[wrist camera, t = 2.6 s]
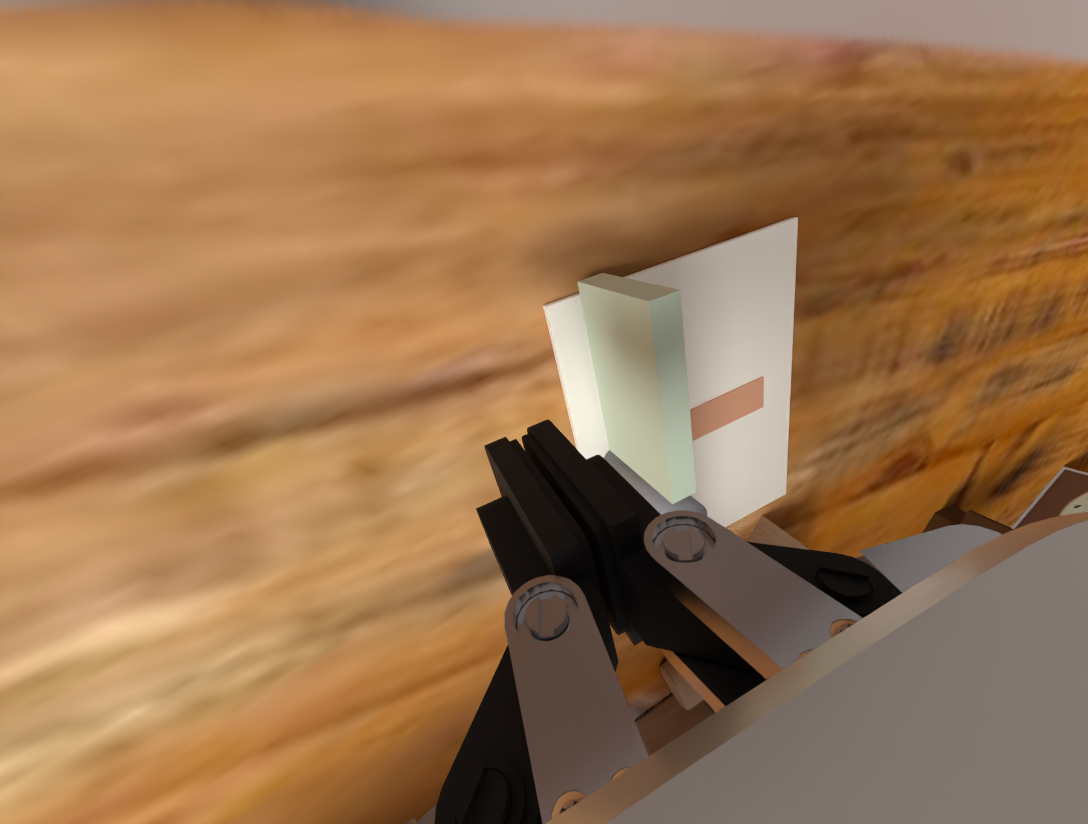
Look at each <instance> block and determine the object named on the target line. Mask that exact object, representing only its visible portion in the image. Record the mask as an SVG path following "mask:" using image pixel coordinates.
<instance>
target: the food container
mask: <svg viewBox="0 0 1088 824" xmlns="http://www.w3.org/2000/svg"><path fill="white" fill-rule="evenodd" d="M1082 512H1088V473H1086V472H1083V471H1079V470H1075V469H1072V468H1068V467H1064V466H1063V467H1062V468H1061V469H1060V471H1059V472H1058V473H1057V474H1056V475H1055V477H1054V478H1053V479H1052V480H1051V481H1050V482H1049V484H1048V485H1047V486H1046V487H1045V488H1044V490H1043V491H1042V492H1041V493H1040V494H1039V495H1038V497H1037V498H1036V499H1035V500H1034V501H1033V502H1032V504H1031V505H1030V506H1029V507H1028V508H1027V510H1026V511H1025V512H1024V513H1023V514H1022V515H1021V517H1020V518H1019V519H1018V520H1017V521H1016V523H1015V524H1014V525H1013V526H1012V527H1011V528H1012V529H1014V530H1015V529H1017V528H1020V527H1022V526H1025V525H1028V524H1030V523H1034V522H1038V521H1041V520H1045V519H1048V518H1053V517H1058V516H1063V515H1067V514H1074V513H1082Z"/></svg>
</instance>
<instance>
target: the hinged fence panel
mask: <svg viewBox="0 0 1088 824" xmlns="http://www.w3.org/2000/svg"><path fill="white" fill-rule="evenodd" d="M577 283H578V288H579V293H580V299H581V304H582V309H583V314H584V319H585V325H586V330H587V335H588V340H589V346H590V351H591V356H592V361H593V366H594V372H595V377H596V382H597V387H598V393H599V398H600V403H601V408H602V414H603V419H604V424H605V429H606V434H607V440H608V445H609V450H610V451H611V452H613V453H614V454H615V455H616V456H617V457H618V458H620V459H621V460H622V461H623V462H624V463H625V464H626V465H628V466H629V467H630V468H631V469H632V470H633V471H635V472H636V473H637V474H638V475H639V476H640V477H641V478H643V479H644V480H645V481H646V482H647V483H648V484H650V485H651V486H652V487H653V488H654V489H655V490H657V491H658V492H659V493H660V494H661V495H662V496H663V497H665V498H666V499H667V500H668V501H669V502H670V503H672V504H674V503H676V502H678V501H680V500H682V499H684V498H686V497H688V496H690V495H692V494H694V493H696V492H697V491H696V479H695V467H694V454H693V442H692V430H691V417H690V405H689V393H688V380H687V368H686V356H685V343H684V331H683V318H682V306H681V294H680V290H678V289H674V288H669V287H665V286H660V285H656V284H651V283H646V282H642V281H637V280H633V279H628V278H624V277H619V276H615V275H610V274H606V273H601V274H598V275H595V276H592V277H589V278H586V279H583V280H580V281H578V282H577Z"/></svg>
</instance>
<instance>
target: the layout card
mask: <svg viewBox="0 0 1088 824" xmlns="http://www.w3.org/2000/svg"><path fill="white" fill-rule="evenodd" d="M797 232H798V217H792V218H789V219H786V220H783V221H780V222H777V223H775V224H772V225H769V226H766V227H763V228H761V229H758V230H755V231H752V232H749V233H746V234H744V235H741V236H738V237H735V238H732V239H729V240H727V241H724V242H721V243H718V244H715V245H713V246H710V247H707V248H704V249H701V250H698V251H696V252H693V253H690V254H687V255H684V256H681V257H679V258H676V259H673V260H670V261H667V262H665V263H662V264H659V265H656V266H653V267H650V268H648V269H645V270H642V271H639V272H636V273H633V274H631V275H628V276H625V277H624V278H628V279H633V280H637V281H642V282H646V283H651V284H656V285H660V286H665V287H669V288H674V289H678V290H680V294H681V306H682V318H683V331H684V343H685V356H686V368H687V380H688V393H689V405H690V417H691V430H692V442H693V454H694V467H695V479H696V491H697V492H696V493H694V494H692V495H691V496H692V497H693V498H694V499H696V500H697V501H698V502H699V503H701V504H702V505H703V506H704V507H705V508H706V510H707V517H709V518H711V519H713V520H714V521H716V522H717V523H719V524H720V525H722V526H723V527H727V526H729V525H731V524H733V523H734V522H736V521H738V520H740V519H742V518H743V517H745V516H747V515H749V514H751V513H752V512H754V511H756V510H758V509H760V508H761V507H763V506H765V505H767V504H769V503H771V502H772V501H774V500H776V499H778V498H780V497H781V496H783V495H785V494H786V481H787V458H788V436H789V413H790V390H791V368H792V345H793V322H794V300H795V277H796V254H797ZM543 308H544V312H545V317H546V321H547V325H548V329H549V334H550V338H551V342H552V346H553V351H554V355H555V359H556V363H557V368H558V372H559V376H560V380H561V385H562V389H563V393H564V398H565V402H566V406H567V410H568V415H569V419H570V423H571V427H572V432H573V436H574V440H575V444H576V449H577V450H578V451H579V452H580V453H581V454H582V455H583V456H584V458H585V459H588V458H591V457H593V456H595V455H600V456H602V457H603V458H604V457H605V455H606V453H607V452H608V451H609V445H608V440H607V434H606V429H605V424H604V419H603V414H602V408H601V403H600V398H599V393H598V387H597V382H596V377H595V372H594V366H593V361H592V356H591V351H590V346H589V340H588V335H587V330H586V325H585V319H584V314H583V309H582V304H581V299H580V293H577V294H574V295H571V296H569V297H566V298H563V299H560V300H557V301H554V302H552V303H549V304H546V305H543Z"/></svg>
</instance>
